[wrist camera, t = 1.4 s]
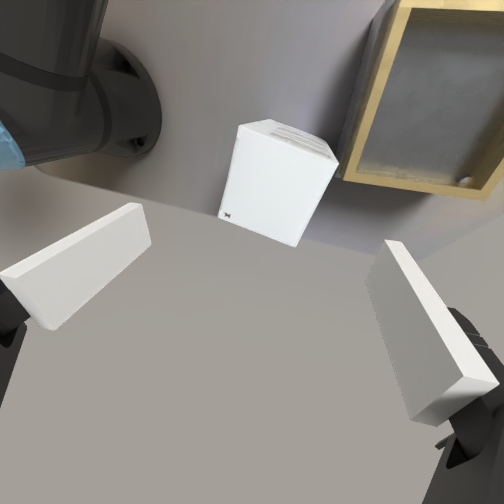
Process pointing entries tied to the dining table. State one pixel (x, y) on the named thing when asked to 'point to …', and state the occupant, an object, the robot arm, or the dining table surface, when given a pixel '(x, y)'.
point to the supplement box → (276, 180)
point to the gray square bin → (429, 100)
